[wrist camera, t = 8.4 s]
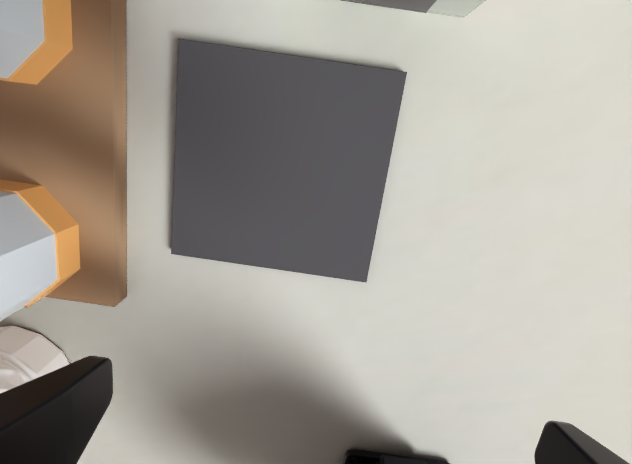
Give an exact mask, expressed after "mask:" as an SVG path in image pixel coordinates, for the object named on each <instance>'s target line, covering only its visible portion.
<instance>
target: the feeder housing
mask: <svg viewBox="0 0 632 464" xmlns="http://www.w3.org/2000/svg"><path fill="white" fill-rule="evenodd" d="M342 1H349V2H356V3H363V4H369V5H376V6H383V7H390V8H397V9H404V10H410V11H417V12H424V13H426V12H431V13H438V14H444V15H451V16H458V17H465V16H466V15H468V14H469V13H470V12H471V11H473V10H474V9H475V8H477V7H478V6H479V5H480V4H482V3H483V2H484V1H486V0H342Z"/></svg>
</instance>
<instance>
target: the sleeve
mask: <svg viewBox="0 0 632 464" xmlns="http://www.w3.org/2000/svg"><path fill="white" fill-rule="evenodd" d="M72 49H73V44H72V18H71V0H0V80H3V81H10V82H18V83H27V84H35V85H37V84H38V83H39V82H40V81H41V80H42V79H43V78H44V77H45V76H46V75H47V74H48V73H49V72H50V71H51V70H52V69H53V68H54V67H55V66H56V65H57V64H58V63H59V62H60V61H61V60H62V59H63V58H64V57H65V56H66V55H67V54H68V53H69V52H70V51H71V50H72Z"/></svg>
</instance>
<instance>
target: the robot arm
mask: <svg viewBox="0 0 632 464" xmlns="http://www.w3.org/2000/svg"><path fill="white" fill-rule="evenodd" d="M112 394H113V373H112V362H111V360H110V359H109V358H105V357H98V356H88V357H85V358H83V359H81V360H78V361H76V362H74V363H71V364H69V365H66V366H64V367H62V368H59V369H57V370H55V371H52V372H50V373H48V374H45V375H43V376H40V377H38V378H36V379H33V380H31V381H29V382H26V383H24V384H22V385H19V386H17V387H14V388H12V389H10V390H7V391H5V392H3V393H0V464H77V462H78V460H79V459H80V457H81V455H82V453H83V451H84V450H85V448H86V446H87V444H88V442H89V440H90V439H91V437H92V435H93V433H94V431H95V429H96V428H97V426H98V424H99V422H100V420H101V419H102V417H103V415H104V413H105V411H106V409H107V408H108V406H109V404H110V401H111V398H112ZM352 458H355V459H352ZM343 464H449V463H445V462H439V461H432V460H425V459H418V458H411V457H404V456H397V455H391V454H384V453H377V452H370V451H363V450H356V449H351V450H348V451H347V452H346V454H345V457H344V462H343ZM535 464H629V463H628V462H626V461H625V460H623V459H622V458H620V457H619V456H618V455H616V454H615V453H613V452H612V451H610V450H609V449H607V448H606V447H604V446H603V445H601V444H600V443H598V442H597V441H595V440H594V439H593V438H591V437H590V436H588V435H587V434H585V433H584V432H582V431H581V430H579V429H578V428H576V427H575V426H573V425H572V424H569V423H565V422H558V421H548V422H547V423H546V424H545V426H544V428H543V431H542V434H541V437H540V439H539V442H538V445H537V447H536V450H535Z"/></svg>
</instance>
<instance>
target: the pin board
mask: <svg viewBox="0 0 632 464" xmlns="http://www.w3.org/2000/svg"><path fill="white" fill-rule="evenodd" d="M71 18H72V44H73V49H72V50H71V51H70V52H69V53H68V54H67V55H66V56H65V57H64V58H63V59H62V60H61V61H60V62H59V63H58V64H57V65H56V66H55V67H54V68H53V69H52V70H51V71H50V72H49V73H48V74H47V75H46V76H45V77H44V78H43V79H42V80H41V81H40V82H39V83H38V84H37V85H35V84H27V83H18V82H10V81H3V80H0V179H1V180H8V181H15V182H22V183H29V184H36V185H42V186H43V187H44V188H45V189H46V190H47V191H48V192H49V193H50V194H51V195H52V196H53V197H54V198H55V199H56V201H57V202H58V203H59V204H60V205H61V206H62V207H63V208H64V209H65V210H66V211H67V212H68V213H69V214H70V216H71V217H72V218H73V219H74V220H75V221H76V222H77V223H78V224H79V249H80V269H79V270H78V271H77V272H76V273H74V274H73V275H72V276H71V277H70V278H68V279H67V280H66V281H65V282H63V283H62V284H61V285H60V286H58V287H57V288H56V289H55V290H54V291H52V292H51V293H50V294H48V295H47V296H45V297H51V298H58V299H64V300H71V301H78V302H85V303H92V304H99V305H105V306H112V307H115V306H116V305H117V304H118V303H120V302H121V301H122V300H123V299H124V298H125V297H127V182H126V0H71Z"/></svg>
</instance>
